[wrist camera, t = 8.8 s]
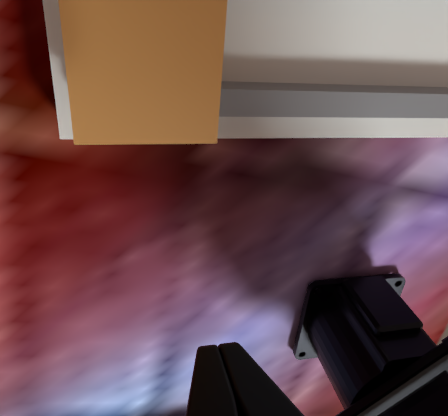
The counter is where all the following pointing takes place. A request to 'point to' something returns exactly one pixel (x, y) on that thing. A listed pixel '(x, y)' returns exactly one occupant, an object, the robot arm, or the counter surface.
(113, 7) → the fader orange
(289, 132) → the console
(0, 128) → the counter surface
